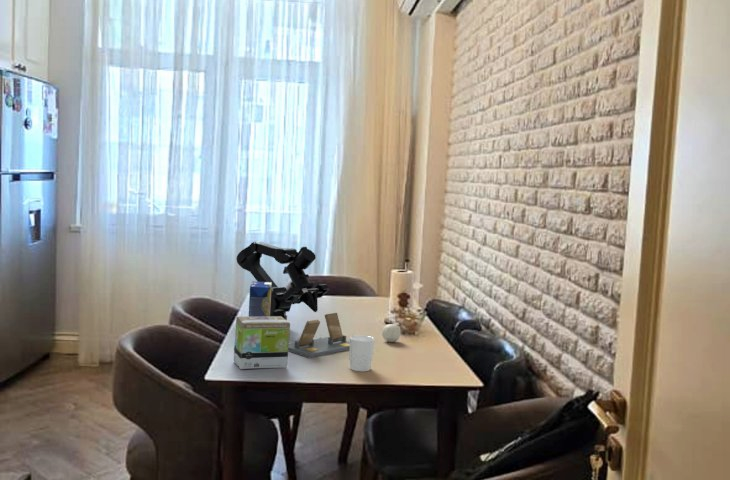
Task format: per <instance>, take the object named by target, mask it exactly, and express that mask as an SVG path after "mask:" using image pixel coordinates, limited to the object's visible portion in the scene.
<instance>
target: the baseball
mask: <svg viewBox="0 0 730 480" xmlns="http://www.w3.org/2000/svg"><path fill="white" fill-rule="evenodd" d="M381 332H382V334H381V335H382V338H383V340H385V341H386V342H387V343H395V342H397V341H398V340H399V339H400V337H401V335H402V334H401V329H400V327H399V326H398V325H397V324H394V323H388V324H386V325H384V327H383V328H382V331H381Z"/></svg>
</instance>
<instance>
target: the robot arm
mask: <svg viewBox="0 0 730 480" xmlns="http://www.w3.org/2000/svg"><path fill="white" fill-rule="evenodd" d="M263 255H264V256H268V257H270V258H273V259H274V260H275V262H277V263H279V264H280V265H284V264H286V265H287V266H284V267H283V271H282V273H283V274H284V275H286V274H287V275H288V276H289V278H290V280H291V283H290V287H288V288H286V287H285V286H280V287H278V285H277V284H276V282H275V281H274V280H273V278H272V277H271V276H269V274H268V273H267V271H266V270H265V269H264V268H263V267H262V265H261V258H262V256H263ZM315 260H316V253H315V252H313V251H312V250H311V249H309V248H308V247H307V246H302V247H301V248H300V249H299V250H297V249H296V248H292V247H289V248H288V247H287V248H286V247H284V248H282V247H278V246H276V245H275V246H274V245H272V244H269V243H265V242H263V241H253V242H251V243H250V244H249V245H248V246H246V247H245V248H243V249H242V250H241V251H240V252H238V254H237V256H236V262H237V265H239V266H240V268H242V269H243V270H245V271H247V272H249V273H250V274H251V275H252V277H254V279H255V280H256V282H272V289H271V308H270V316H282V317H283V318H284V319H285V320H287V321H288V315H287V313H289V312H290V311H291V308H292V305H296V304H297V305H300V304H301V303H304V304H305V305H307V307H308V308H309V309H310V310H311V311H313V312H314V313H317V312H318V305H319V304H318V299H321V298H322V297H324V295H326V294H327V293H328V291H329V290H330V288H329V286H328V284H327V283H323V284H322V283H321V284H317V285H316V286H315V285H314V283H312V282H311V281H310V280H309V278H310V275H309V273H307V274H306V273H305V270H307V269H308V268H309V267H310V266H311V265H312V264H313V263H314V261H315ZM314 286H315V287H314ZM313 287H314V288H313Z"/></svg>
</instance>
